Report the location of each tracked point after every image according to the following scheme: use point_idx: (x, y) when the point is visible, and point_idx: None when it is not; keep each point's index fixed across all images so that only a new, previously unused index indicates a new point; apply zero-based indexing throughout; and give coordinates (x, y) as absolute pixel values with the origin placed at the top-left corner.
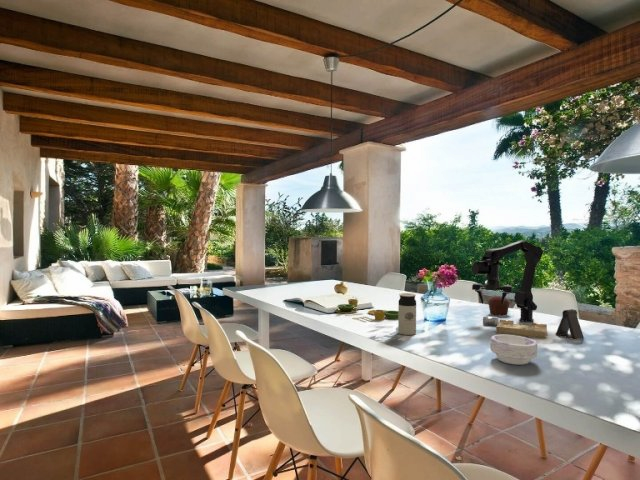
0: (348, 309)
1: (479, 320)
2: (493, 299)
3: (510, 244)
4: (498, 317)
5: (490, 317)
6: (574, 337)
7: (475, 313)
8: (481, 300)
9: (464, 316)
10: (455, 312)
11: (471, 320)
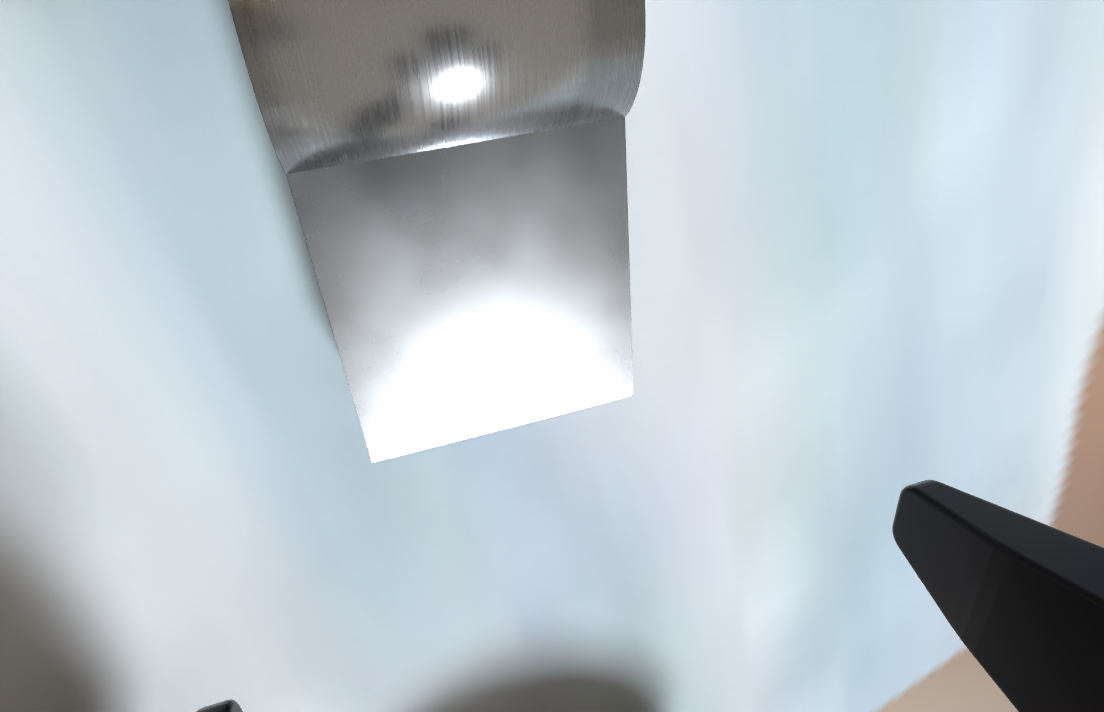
0: None
1: (704, 325)
2: None
3: None
4: (368, 448)
5: (436, 24)
6: None
7: (800, 667)
8: (1056, 541)
9: (926, 430)
10: None
11: (827, 226)
